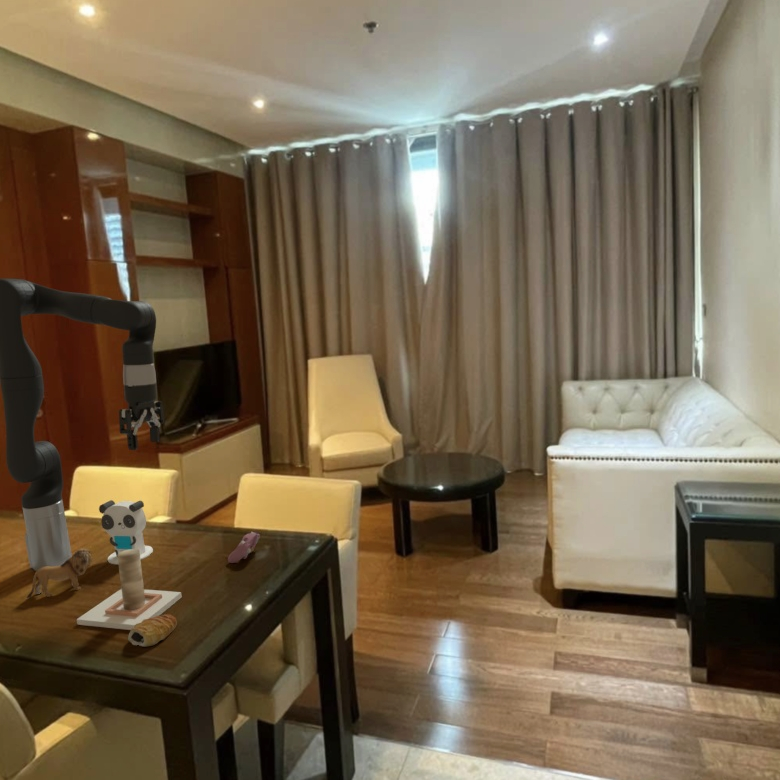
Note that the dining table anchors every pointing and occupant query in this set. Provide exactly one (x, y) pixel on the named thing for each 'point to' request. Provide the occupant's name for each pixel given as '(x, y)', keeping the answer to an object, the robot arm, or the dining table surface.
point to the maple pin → (131, 579)
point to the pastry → (152, 630)
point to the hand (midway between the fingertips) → (144, 445)
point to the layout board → (117, 617)
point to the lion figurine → (63, 572)
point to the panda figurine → (125, 527)
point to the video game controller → (244, 547)
